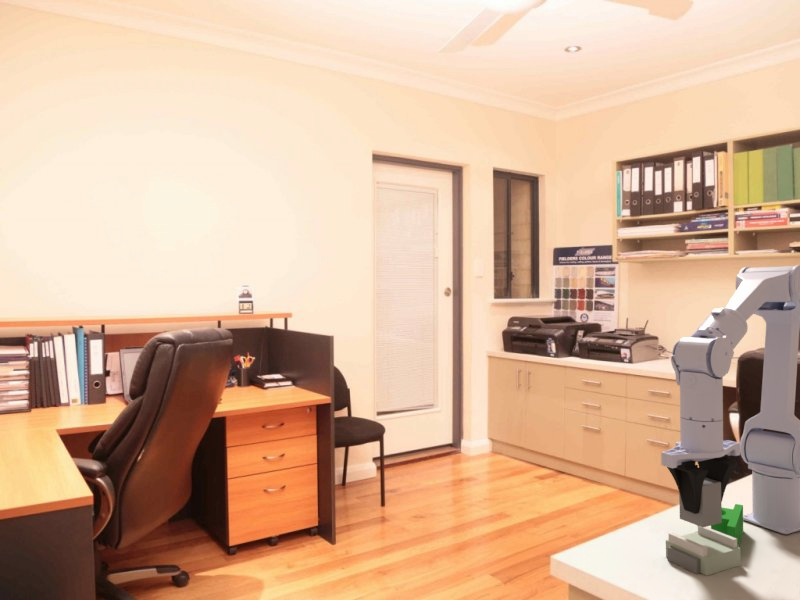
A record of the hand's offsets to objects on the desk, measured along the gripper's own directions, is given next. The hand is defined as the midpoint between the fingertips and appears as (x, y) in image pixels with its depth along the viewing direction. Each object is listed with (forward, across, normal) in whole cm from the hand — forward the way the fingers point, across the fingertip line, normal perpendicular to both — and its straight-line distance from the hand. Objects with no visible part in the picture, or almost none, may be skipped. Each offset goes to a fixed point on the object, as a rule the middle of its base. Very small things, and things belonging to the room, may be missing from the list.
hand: (702, 508), depth 91 cm
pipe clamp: (+8, -10, -3) cm, 13 cm away
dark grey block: (+2, 0, 0) cm, 2 cm away
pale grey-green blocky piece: (+8, 0, 0) cm, 8 cm away
